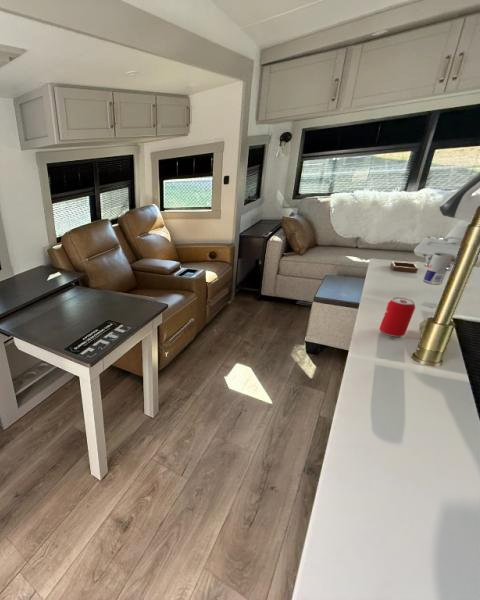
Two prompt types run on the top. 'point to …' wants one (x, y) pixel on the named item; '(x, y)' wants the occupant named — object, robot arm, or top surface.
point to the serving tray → (404, 267)
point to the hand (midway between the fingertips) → (437, 268)
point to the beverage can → (397, 316)
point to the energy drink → (437, 268)
